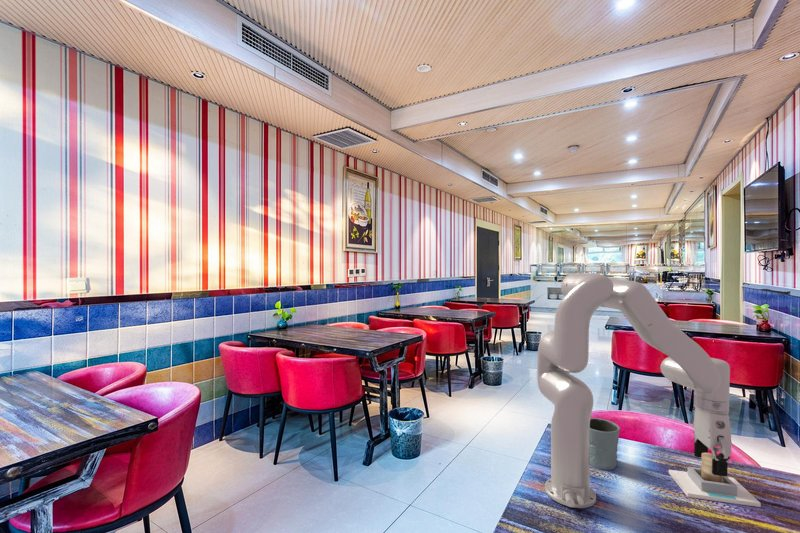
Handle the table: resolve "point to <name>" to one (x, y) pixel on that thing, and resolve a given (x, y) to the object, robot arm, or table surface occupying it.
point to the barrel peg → (708, 468)
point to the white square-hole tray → (713, 488)
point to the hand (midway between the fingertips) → (709, 465)
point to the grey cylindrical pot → (603, 443)
